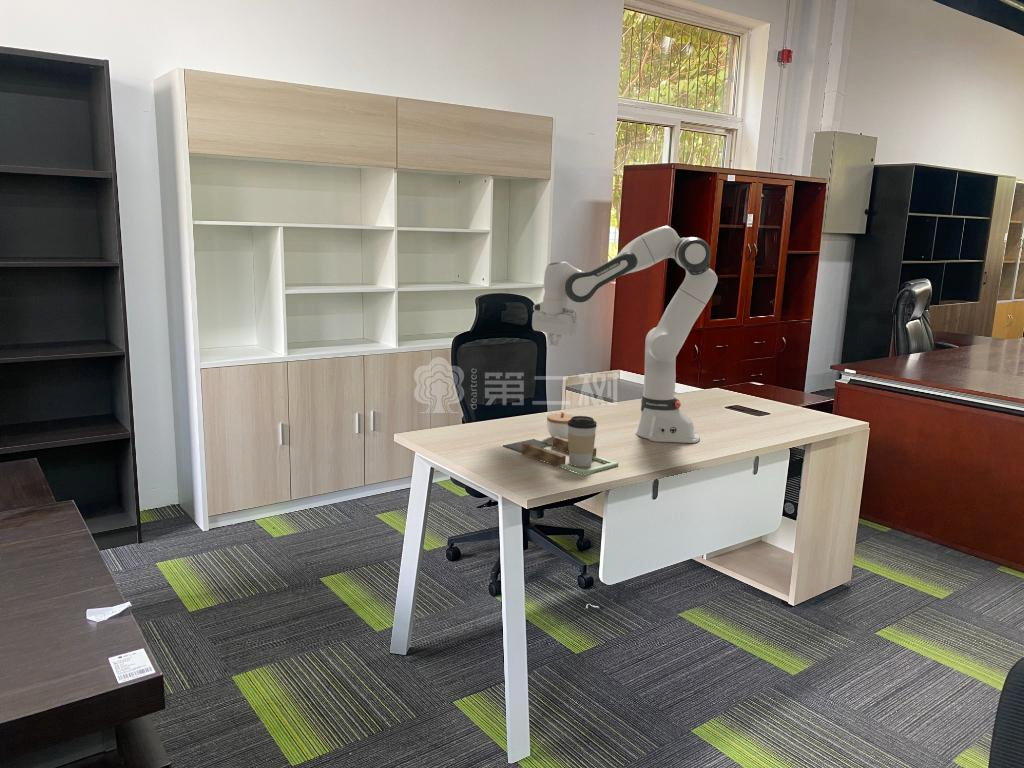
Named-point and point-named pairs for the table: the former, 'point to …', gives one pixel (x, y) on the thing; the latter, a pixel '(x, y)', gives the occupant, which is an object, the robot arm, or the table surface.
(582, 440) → the coffee cup
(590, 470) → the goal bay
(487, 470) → the table surface
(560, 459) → the channel
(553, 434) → the lidded jar
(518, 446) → the mat
